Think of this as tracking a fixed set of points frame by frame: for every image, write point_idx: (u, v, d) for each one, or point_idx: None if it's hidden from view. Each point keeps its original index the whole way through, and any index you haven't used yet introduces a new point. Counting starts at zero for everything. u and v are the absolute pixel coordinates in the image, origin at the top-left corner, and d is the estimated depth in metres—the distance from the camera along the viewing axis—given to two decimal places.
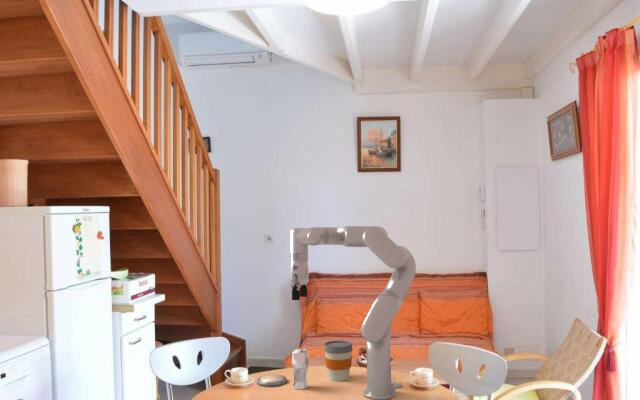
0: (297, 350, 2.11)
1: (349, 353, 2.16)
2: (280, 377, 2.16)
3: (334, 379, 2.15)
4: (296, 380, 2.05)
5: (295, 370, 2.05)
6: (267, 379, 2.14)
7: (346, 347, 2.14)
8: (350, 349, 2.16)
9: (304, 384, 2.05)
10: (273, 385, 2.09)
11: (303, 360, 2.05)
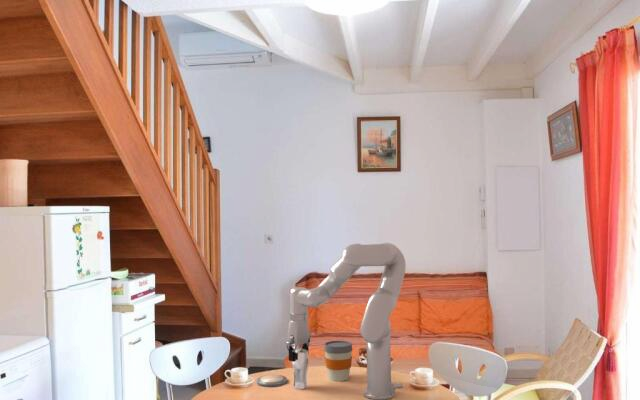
0: (297, 350, 2.11)
1: (349, 353, 2.16)
2: (280, 377, 2.16)
3: (334, 379, 2.15)
4: (296, 380, 2.05)
5: (295, 370, 2.05)
6: (267, 379, 2.14)
7: (346, 347, 2.14)
8: (350, 349, 2.16)
9: (304, 384, 2.05)
10: (273, 385, 2.09)
11: (303, 360, 2.05)
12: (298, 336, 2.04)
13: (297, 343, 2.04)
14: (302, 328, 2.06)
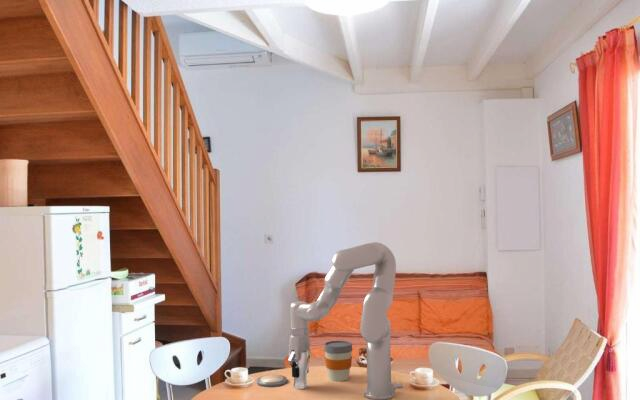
0: None
1: (349, 353, 2.16)
2: (280, 377, 2.16)
3: (334, 379, 2.15)
4: (296, 380, 2.05)
5: None
6: (267, 379, 2.14)
7: (346, 347, 2.14)
8: (350, 349, 2.16)
9: (304, 384, 2.05)
10: (273, 385, 2.09)
11: (303, 360, 2.05)
12: (299, 351, 2.04)
13: (298, 358, 2.04)
14: (303, 343, 2.06)
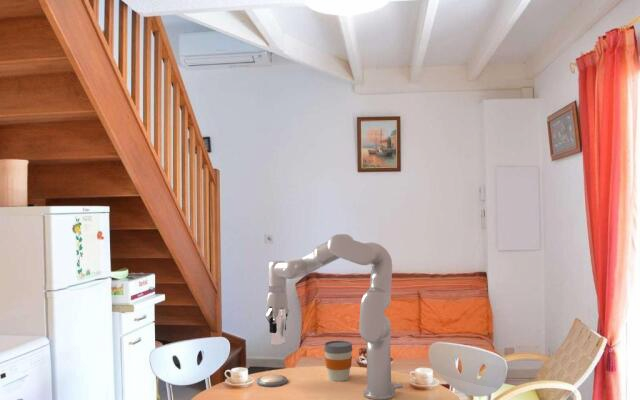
0: None
1: (349, 353, 2.16)
2: (280, 377, 2.16)
3: (334, 379, 2.15)
4: (273, 336, 2.12)
5: None
6: (267, 379, 2.14)
7: (346, 347, 2.14)
8: (350, 349, 2.16)
9: (281, 339, 2.12)
10: (273, 385, 2.09)
11: (280, 316, 2.12)
12: (276, 307, 2.10)
13: (276, 314, 2.10)
14: (280, 300, 2.13)
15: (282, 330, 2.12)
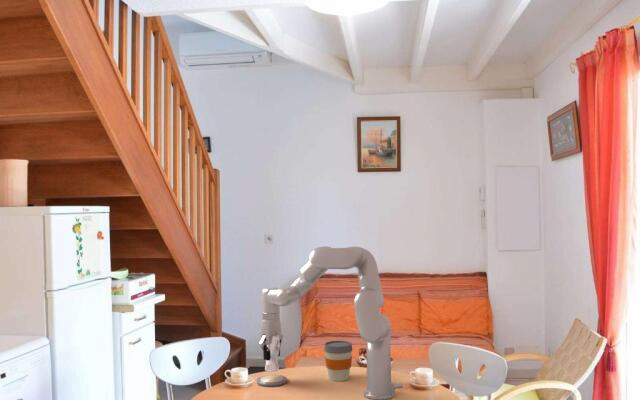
0: None
1: (349, 353, 2.16)
2: (280, 377, 2.16)
3: (334, 379, 2.15)
4: (267, 363, 2.13)
5: None
6: (267, 379, 2.14)
7: (346, 347, 2.14)
8: (350, 349, 2.16)
9: (275, 366, 2.13)
10: (273, 385, 2.09)
11: (274, 343, 2.13)
12: (270, 334, 2.12)
13: (269, 341, 2.11)
14: (274, 327, 2.14)
15: (276, 357, 2.14)
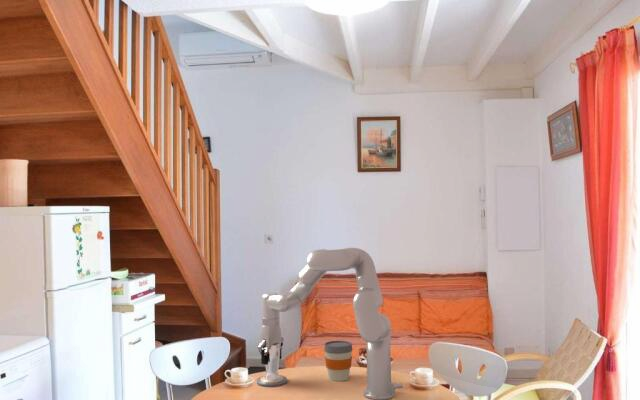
0: None
1: (349, 353, 2.16)
2: (280, 377, 2.16)
3: (334, 379, 2.15)
4: (267, 372, 2.13)
5: None
6: None
7: (346, 347, 2.14)
8: (350, 349, 2.16)
9: (275, 376, 2.13)
10: (273, 385, 2.09)
11: (274, 352, 2.12)
12: (270, 340, 2.12)
13: (269, 347, 2.11)
14: (273, 332, 2.14)
15: (276, 366, 2.13)
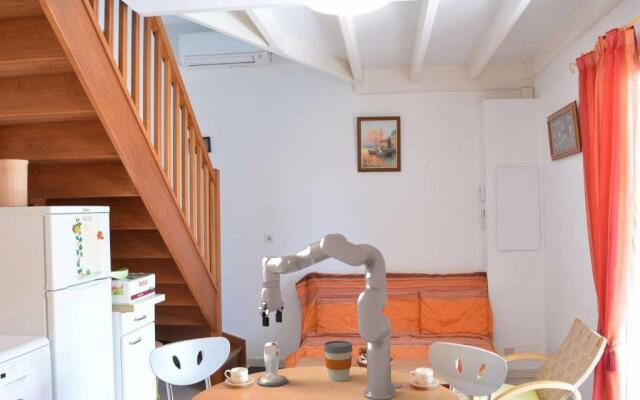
0: (269, 343, 2.18)
1: (349, 353, 2.16)
2: (280, 377, 2.16)
3: (334, 379, 2.15)
4: (267, 372, 2.13)
5: (267, 362, 2.13)
6: None
7: (346, 347, 2.14)
8: (350, 349, 2.16)
9: (275, 376, 2.13)
10: (273, 385, 2.09)
11: (274, 352, 2.12)
12: (271, 302, 2.13)
13: (270, 309, 2.13)
14: (274, 295, 2.15)
15: (276, 366, 2.13)
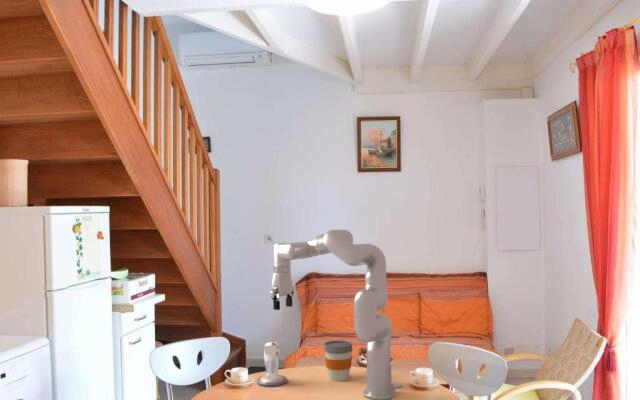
0: (269, 343, 2.18)
1: (349, 353, 2.16)
2: (280, 377, 2.16)
3: (334, 379, 2.15)
4: (267, 372, 2.13)
5: (267, 362, 2.13)
6: None
7: (346, 347, 2.14)
8: (350, 349, 2.16)
9: (275, 376, 2.13)
10: (273, 385, 2.09)
11: (274, 352, 2.12)
12: (281, 286, 2.21)
13: (281, 293, 2.21)
14: (285, 280, 2.24)
15: (276, 366, 2.13)
